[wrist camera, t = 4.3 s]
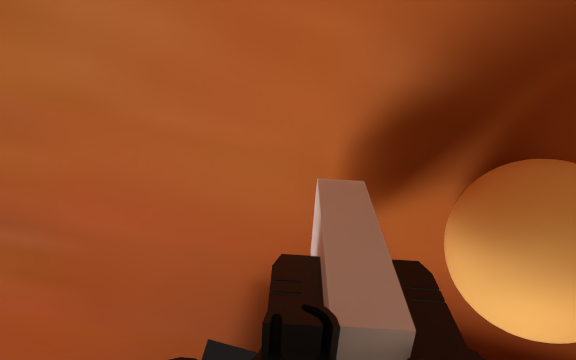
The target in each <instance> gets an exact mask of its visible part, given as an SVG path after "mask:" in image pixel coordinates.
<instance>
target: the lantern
mask: <svg viewBox="0 0 576 360" xmlns="http://www.w3.org/2000/svg"><path fill="white" fill-rule="evenodd" d="M257 354H258V353H256V352H253V351H249V350H245V349H242V348H238V347H234V346H231V345H227V344H224V343H220V342H216V341H213V340H209V339H208V341H207V345H206V348H205V351H204V354H203V357H202V360H251V359H252V358H253V357H254V356H256V355H257Z"/></svg>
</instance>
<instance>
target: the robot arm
mask: <svg viewBox="0 0 576 360" xmlns="http://www.w3.org/2000/svg"><path fill="white" fill-rule="evenodd" d="M170 360H197V359H194V358H184V357H180V358H175V359H170ZM251 360H486V359H484V358H483V357H482V356H480V355H479V354H478V353H477V352H475V351H473V350H471V349H468V348H467V346H466V344H465V342H464V340H463V338H462V336H461V334H460V331H459V329H458V327H457V325H456V323H455V321H454V319H453V317H452V315H451V312H450V310H449V308H448V306H447V304H446V303H445V300H444V298H443V296H442V293H441V291H439V287H438V285H437V283H436V281H435V279H434V277H433V275H432V273H431V272H430V271H428V270H427V269H426V268H425V267H424V266H423V265H422V264H421V263H420V262H419V261H406V260H391V257H390V254H389V251H388V248H387V245H386V243H385V240H384V237H383V234H382V231H381V228H380V225H379V222H378V219H377V216H376V214H375V211H374V208H373V205H372V202H371V199H370V196H369V193H368V190H367V188H366V185H365V182H364V181H356V180H340V179H324V178H317V188H316V198H315V209H314V220H313V231H312V242H311V256H304V255H288V254H281V256H280V257H279V258H278V259H277V260H276V262H275V263H274V264H273V265H272V274H271V284H270V294H269V303H268V312H267V313H266V316H265V318H264V321H263V328H262V348H261V349H260V351H259V352H258V354H257V355H256V356H254V357H253V358H252V359H251Z"/></svg>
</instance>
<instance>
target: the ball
mask: <svg viewBox="0 0 576 360" xmlns="http://www.w3.org/2000/svg"><path fill="white" fill-rule="evenodd" d="M444 251H445V258H446V263H447V266H448V270H449V273H450V275H451V277H452V279H453V282H454V284H455V286H456V287H457V289H458V290H459V292H460V293H461V295H462V296H463V298H464V299H465V300H466V301H467V302H468V303H469V304H470V306H471V307H472V308H473V309H474V310H475V311H476V312H477V313H478V314H480V315H481V316H482V317H484V318H485V319H486V320H488V321H489V322H490V323H492V324H493V325H495V326H497V327H499V328H501V329H503V330H504V331H506V332H508V333H511V334H513V335H516V336H519V337H522V338H525V339H529V340H533V341H538V342H545V343H558V344H563V343H574V342H576V163H572V162H568V161H563V160H557V159H528V160H522V161H517V162H512V163H508V164H505V165H502V166H500V167H497V168H495V169H493V170H491V171H489V172H487V173H486V174H484V175H482V176H481V177H479V178H478V179H477V180H475V181H474V182H473V183H472V184H471V185H470V186H468V187H467V188H466V189H465V191H464V192H463V193H462V194H461V195H460V197H459V198H458V200H457V201H456V202H455V204H454V206H453V208H452V210H451V212H450V215H449V218H448V221H447V224H446V228H445V237H444Z"/></svg>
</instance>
